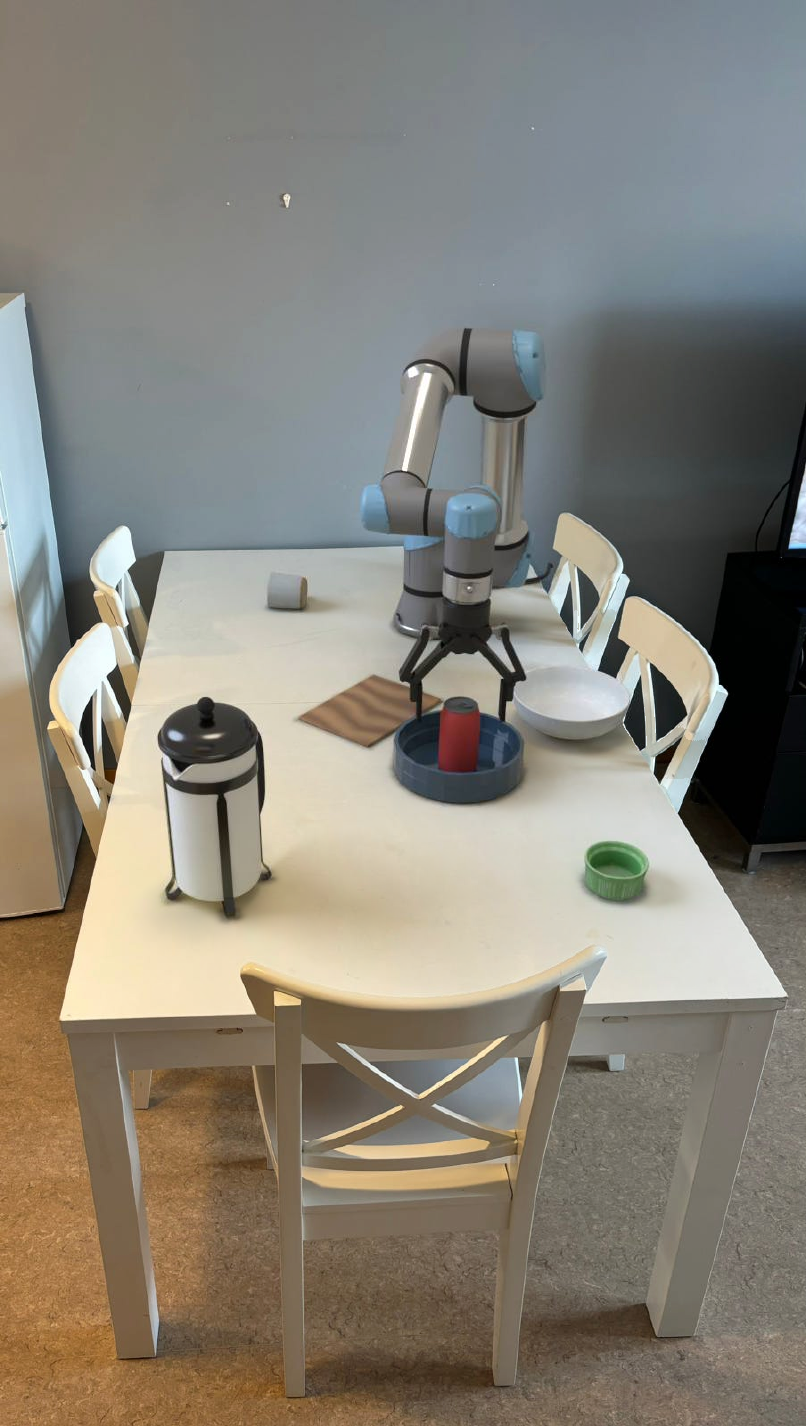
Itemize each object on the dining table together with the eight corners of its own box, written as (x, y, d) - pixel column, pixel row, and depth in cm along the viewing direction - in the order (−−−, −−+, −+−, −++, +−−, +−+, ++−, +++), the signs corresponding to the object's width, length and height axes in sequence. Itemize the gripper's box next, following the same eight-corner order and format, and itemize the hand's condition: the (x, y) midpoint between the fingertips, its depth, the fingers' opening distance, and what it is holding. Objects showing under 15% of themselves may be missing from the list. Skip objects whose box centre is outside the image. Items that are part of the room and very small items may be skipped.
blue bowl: (441, 724, 193) (443, 697, 191) (545, 763, 182) (548, 735, 180) (367, 773, 178) (367, 745, 175) (475, 819, 167) (477, 789, 164)
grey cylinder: (304, 614, 235) (303, 581, 232) (266, 612, 236) (265, 579, 232) (310, 596, 245) (310, 564, 241) (274, 594, 245) (273, 562, 241)
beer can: (474, 779, 177) (478, 715, 171) (434, 774, 178) (437, 711, 172) (479, 759, 182) (483, 697, 176) (441, 754, 183) (444, 692, 178)
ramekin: (603, 910, 148) (607, 884, 146) (569, 873, 155) (572, 848, 153) (657, 894, 152) (661, 869, 149) (621, 859, 159) (625, 834, 157)
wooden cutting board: (373, 676, 209) (373, 674, 209) (441, 701, 201) (441, 698, 201) (298, 719, 194) (298, 716, 194) (367, 747, 186) (367, 745, 185)
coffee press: (289, 909, 147) (282, 717, 133) (171, 929, 143) (150, 733, 128) (266, 838, 162) (258, 657, 147) (158, 854, 157) (139, 670, 143)
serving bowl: (496, 740, 189) (498, 706, 185) (525, 689, 206) (528, 657, 203) (614, 764, 182) (619, 728, 179) (634, 709, 200) (639, 676, 196)
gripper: (386, 606, 161) (384, 730, 171) (551, 606, 163) (539, 728, 173) (384, 587, 168) (382, 708, 178) (542, 587, 169) (532, 707, 179)
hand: (460, 718), depth 175 cm, fingers open, 13 cm apart
